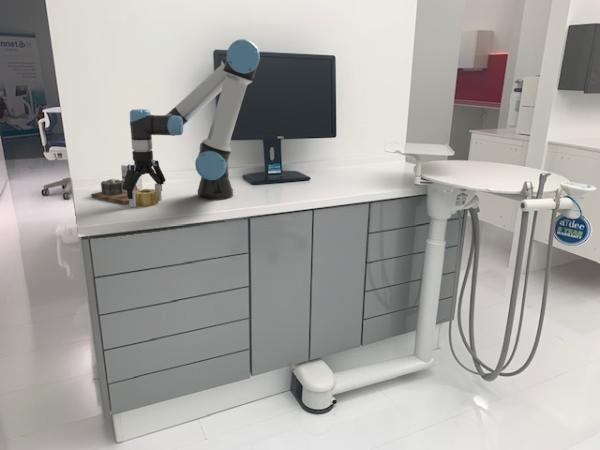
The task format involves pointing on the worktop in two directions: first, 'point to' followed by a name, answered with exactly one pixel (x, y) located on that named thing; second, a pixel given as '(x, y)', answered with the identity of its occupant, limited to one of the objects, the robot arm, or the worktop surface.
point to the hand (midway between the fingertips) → (146, 203)
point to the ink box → (124, 172)
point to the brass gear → (146, 197)
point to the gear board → (113, 197)
